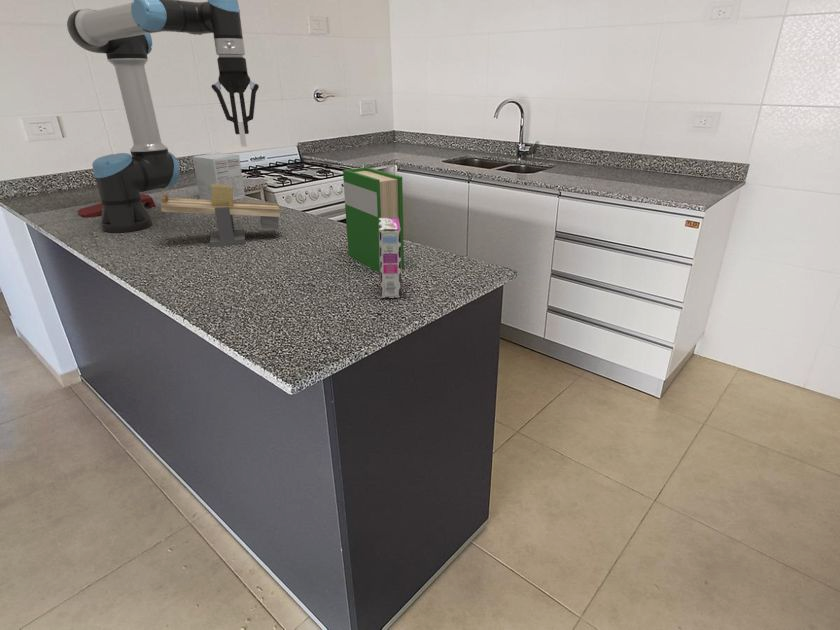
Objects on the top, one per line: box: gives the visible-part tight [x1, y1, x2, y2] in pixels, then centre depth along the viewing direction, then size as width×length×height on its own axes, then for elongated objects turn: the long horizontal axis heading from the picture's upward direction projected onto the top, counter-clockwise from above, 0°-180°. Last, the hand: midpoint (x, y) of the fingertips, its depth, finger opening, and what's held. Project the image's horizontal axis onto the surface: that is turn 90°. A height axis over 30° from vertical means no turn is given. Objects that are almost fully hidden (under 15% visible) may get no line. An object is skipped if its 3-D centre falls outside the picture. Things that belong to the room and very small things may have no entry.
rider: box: [211, 184, 234, 207], centre depth 157 cm, size 5×6×6 cm
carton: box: [77, 193, 157, 219], centre depth 199 cm, size 12×5×25 cm
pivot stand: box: [209, 207, 246, 248], centre depth 160 cm, size 12×10×12 cm
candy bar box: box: [379, 218, 402, 299], centre depth 121 cm, size 11×5×16 cm, turn 5°
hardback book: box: [342, 167, 405, 274], centre depth 138 cm, size 18×7×24 cm, turn 34°
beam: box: [160, 193, 281, 230], centre depth 158 cm, size 10×33×8 cm, turn 108°
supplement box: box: [191, 152, 246, 201], centre depth 213 cm, size 13×13×18 cm
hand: (243, 145), depth 153 cm, fingers closed
